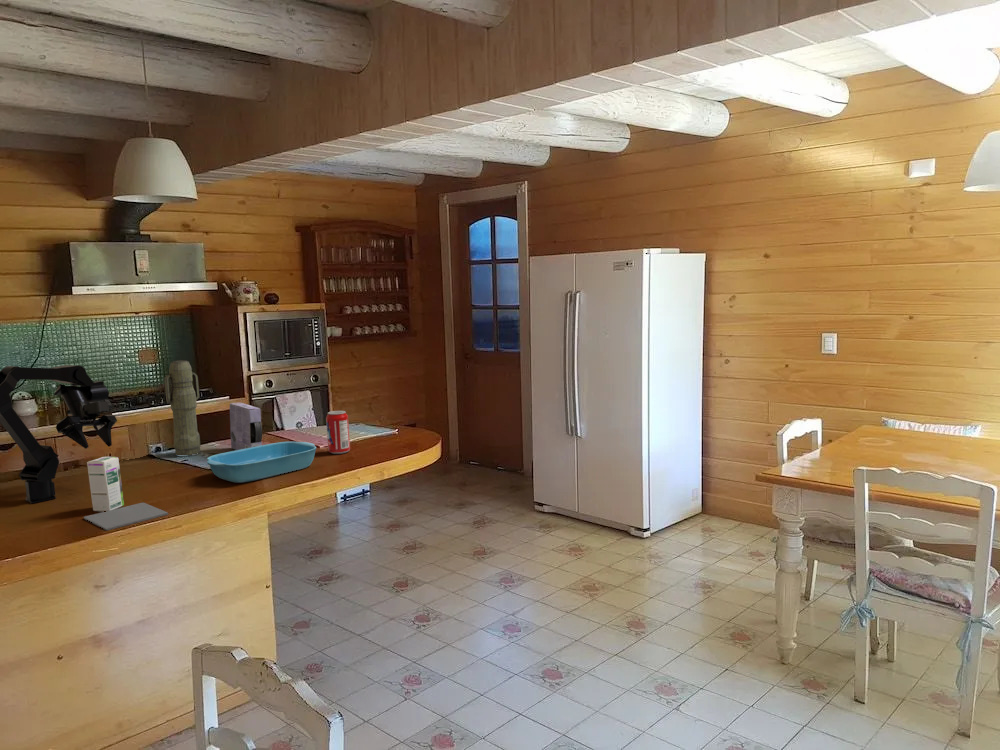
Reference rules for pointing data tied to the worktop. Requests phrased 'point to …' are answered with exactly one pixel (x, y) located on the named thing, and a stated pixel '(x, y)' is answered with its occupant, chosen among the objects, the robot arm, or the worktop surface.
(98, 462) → the syrup box
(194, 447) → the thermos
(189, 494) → the worktop surface
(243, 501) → the worktop surface
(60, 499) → the worktop surface
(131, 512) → the mat
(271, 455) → the casserole dish
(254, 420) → the cake pan box
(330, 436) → the soda can
